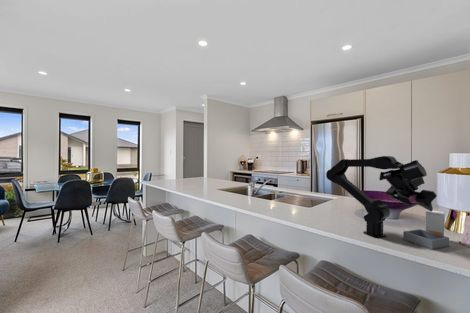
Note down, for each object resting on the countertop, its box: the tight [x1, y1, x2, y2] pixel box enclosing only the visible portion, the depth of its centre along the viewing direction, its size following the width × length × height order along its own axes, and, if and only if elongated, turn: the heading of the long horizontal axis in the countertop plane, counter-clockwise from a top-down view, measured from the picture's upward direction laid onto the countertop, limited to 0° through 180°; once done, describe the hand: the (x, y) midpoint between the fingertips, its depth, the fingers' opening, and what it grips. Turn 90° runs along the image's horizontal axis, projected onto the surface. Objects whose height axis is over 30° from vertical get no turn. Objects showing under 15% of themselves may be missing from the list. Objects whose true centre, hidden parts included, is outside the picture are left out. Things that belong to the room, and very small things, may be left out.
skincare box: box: [424, 209, 446, 236], centre depth 94 cm, size 6×4×12 cm
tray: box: [402, 228, 450, 251], centre depth 90 cm, size 10×10×4 cm
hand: (420, 207), depth 93 cm, fingers open, 9 cm apart
